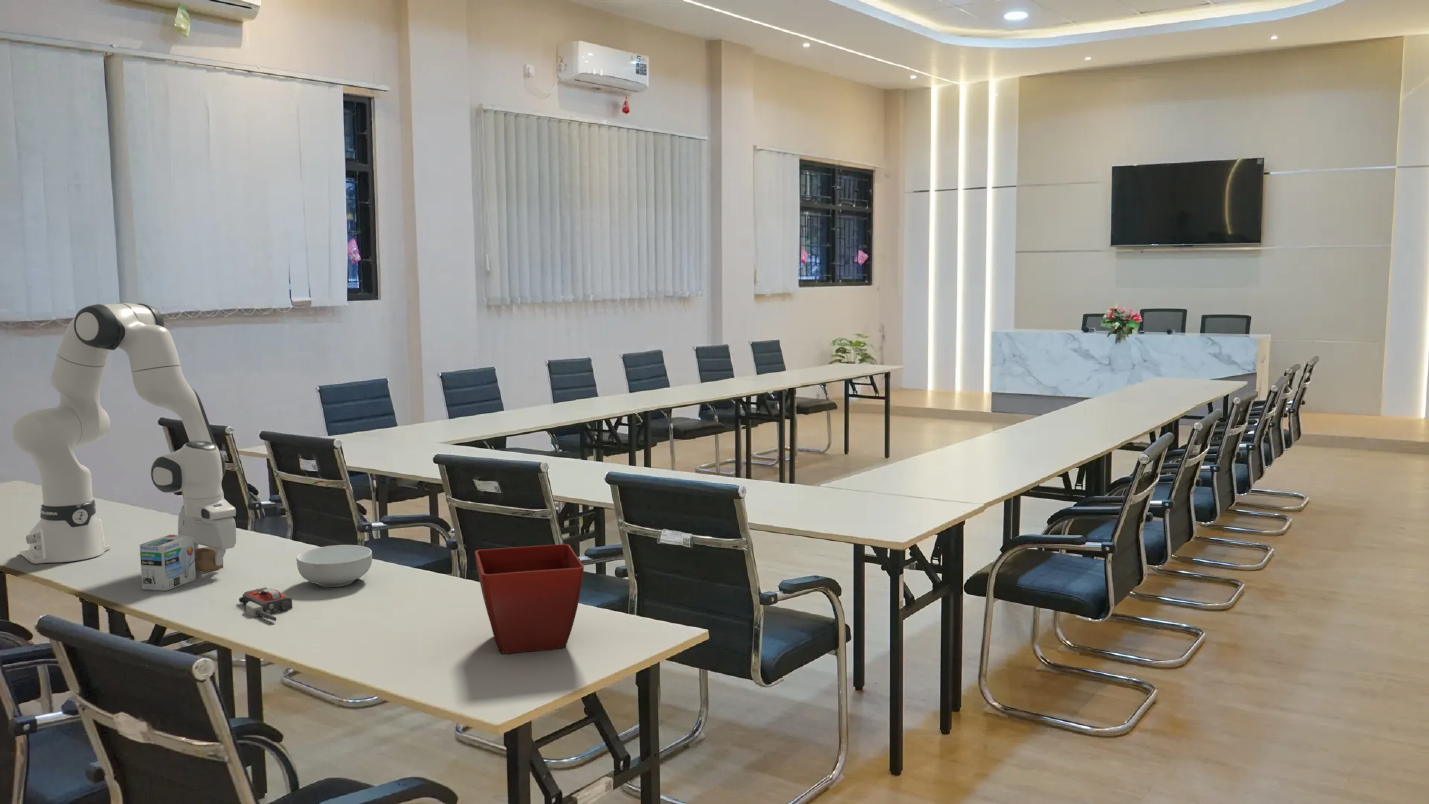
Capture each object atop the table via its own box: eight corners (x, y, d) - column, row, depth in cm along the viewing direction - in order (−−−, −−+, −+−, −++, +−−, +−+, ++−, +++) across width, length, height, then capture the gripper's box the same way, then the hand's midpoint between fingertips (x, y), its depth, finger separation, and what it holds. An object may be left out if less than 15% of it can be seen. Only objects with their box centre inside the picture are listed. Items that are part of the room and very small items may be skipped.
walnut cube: (192, 569, 268) (191, 549, 268) (212, 565, 272) (210, 545, 272) (204, 572, 265) (202, 552, 265) (223, 568, 270) (222, 548, 269)
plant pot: (586, 652, 207) (584, 566, 205) (484, 662, 202) (482, 574, 200) (570, 622, 225) (569, 543, 224) (476, 631, 220) (474, 550, 218)
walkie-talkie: (229, 607, 238) (270, 627, 225) (228, 587, 238) (268, 606, 224) (268, 598, 245) (310, 617, 231) (267, 579, 244) (309, 597, 230)
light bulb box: (166, 591, 249) (163, 545, 248) (140, 590, 250) (137, 544, 249) (197, 579, 259) (194, 535, 258) (172, 577, 261) (169, 533, 260)
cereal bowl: (281, 587, 252) (280, 557, 252) (335, 570, 267) (333, 542, 266) (336, 596, 245) (335, 565, 244) (388, 577, 260) (387, 549, 259)
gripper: (169, 504, 270) (172, 558, 272) (215, 514, 259) (218, 570, 260) (193, 500, 276) (196, 553, 277) (239, 509, 264) (242, 565, 266)
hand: (207, 562), depth 269 cm, fingers open, 8 cm apart
